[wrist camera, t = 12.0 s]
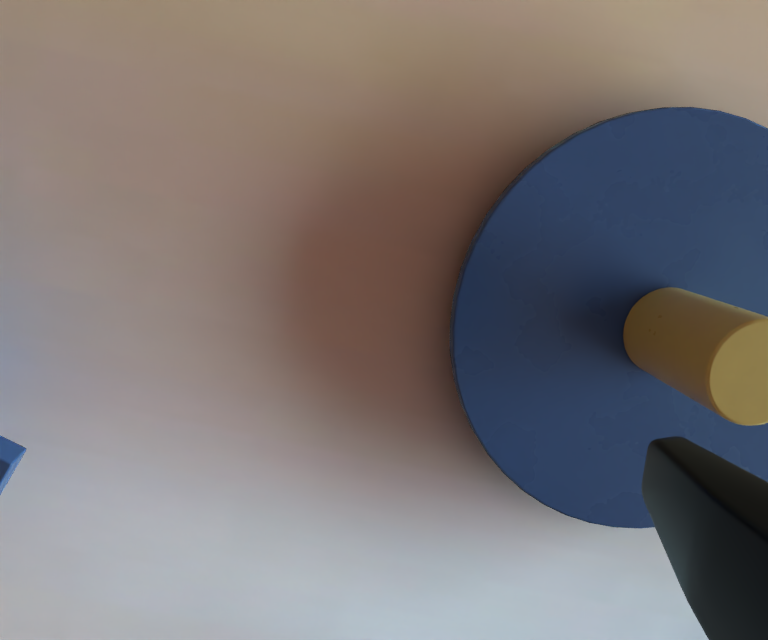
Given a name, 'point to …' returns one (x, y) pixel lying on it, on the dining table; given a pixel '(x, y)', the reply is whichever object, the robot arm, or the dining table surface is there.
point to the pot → (9, 459)
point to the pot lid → (620, 309)
